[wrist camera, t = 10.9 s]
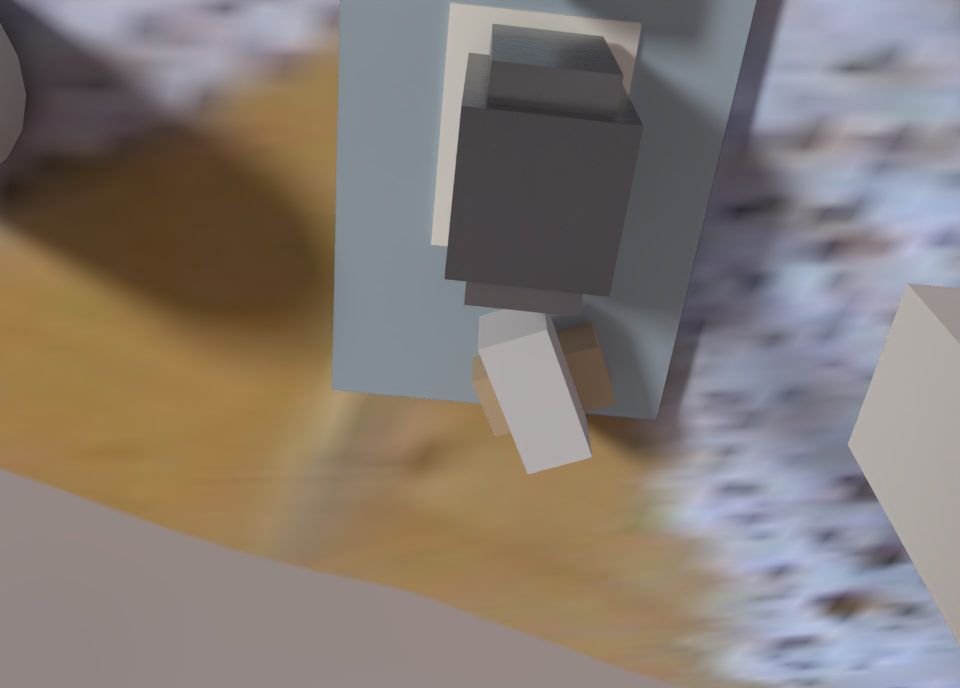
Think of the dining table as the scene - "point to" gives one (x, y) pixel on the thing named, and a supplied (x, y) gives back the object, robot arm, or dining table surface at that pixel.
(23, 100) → the can
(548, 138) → the stepped grey block
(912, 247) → the dining table surface
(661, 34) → the rig
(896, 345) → the robot arm
